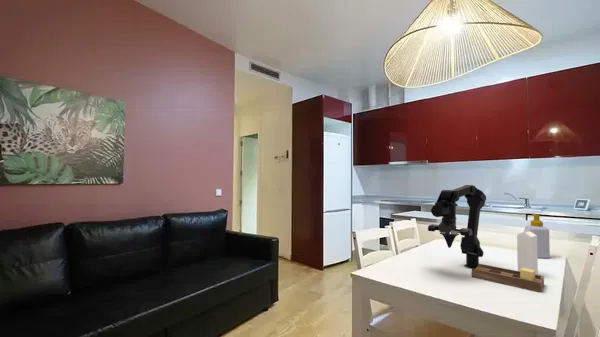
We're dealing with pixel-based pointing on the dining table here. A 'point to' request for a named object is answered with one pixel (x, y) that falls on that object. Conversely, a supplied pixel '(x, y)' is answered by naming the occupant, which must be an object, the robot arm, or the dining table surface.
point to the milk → (527, 250)
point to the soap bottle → (540, 237)
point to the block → (527, 274)
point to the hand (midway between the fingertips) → (449, 247)
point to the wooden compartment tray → (507, 277)
